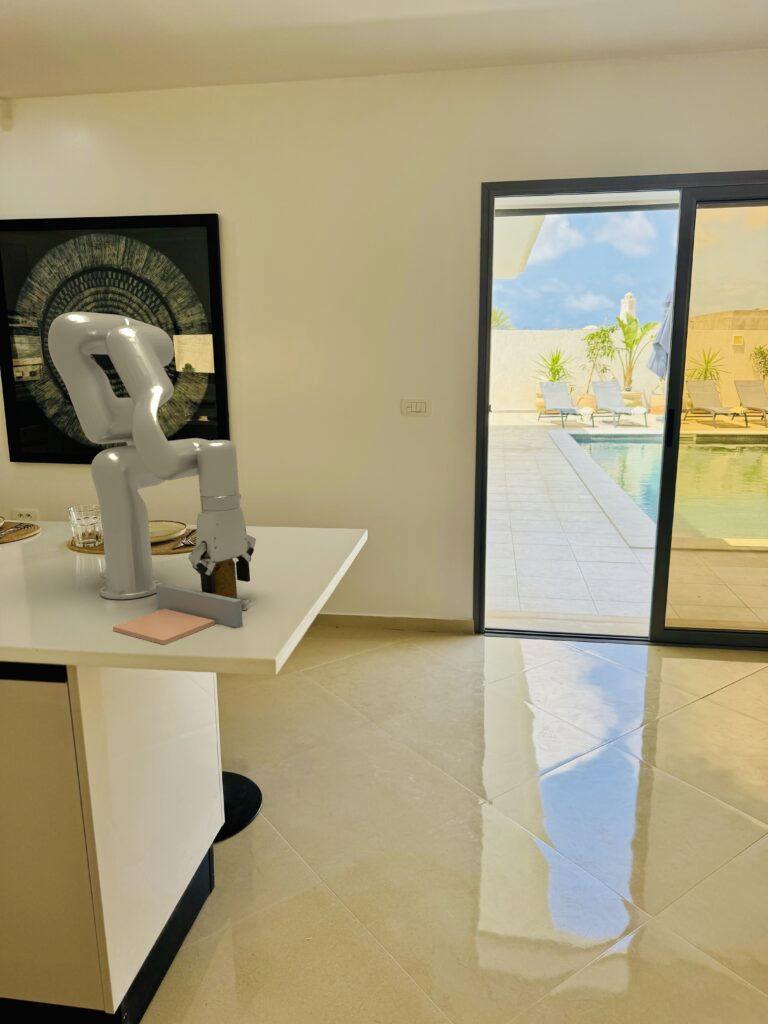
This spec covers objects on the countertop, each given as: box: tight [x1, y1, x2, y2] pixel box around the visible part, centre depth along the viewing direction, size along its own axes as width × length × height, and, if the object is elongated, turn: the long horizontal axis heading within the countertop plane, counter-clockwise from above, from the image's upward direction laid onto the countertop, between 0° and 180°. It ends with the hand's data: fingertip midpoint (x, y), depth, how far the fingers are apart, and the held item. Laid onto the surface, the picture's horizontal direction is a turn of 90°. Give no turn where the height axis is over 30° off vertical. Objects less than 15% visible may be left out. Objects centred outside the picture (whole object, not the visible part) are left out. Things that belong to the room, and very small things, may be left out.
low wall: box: [156, 583, 244, 629], centre depth 140 cm, size 22×2×5 cm, turn 57°
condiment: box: [206, 557, 250, 611], centre depth 145 cm, size 7×8×12 cm
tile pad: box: [112, 609, 216, 646], centre depth 134 cm, size 14×12×1 cm
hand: (226, 586), depth 145 cm, fingers open, 9 cm apart
